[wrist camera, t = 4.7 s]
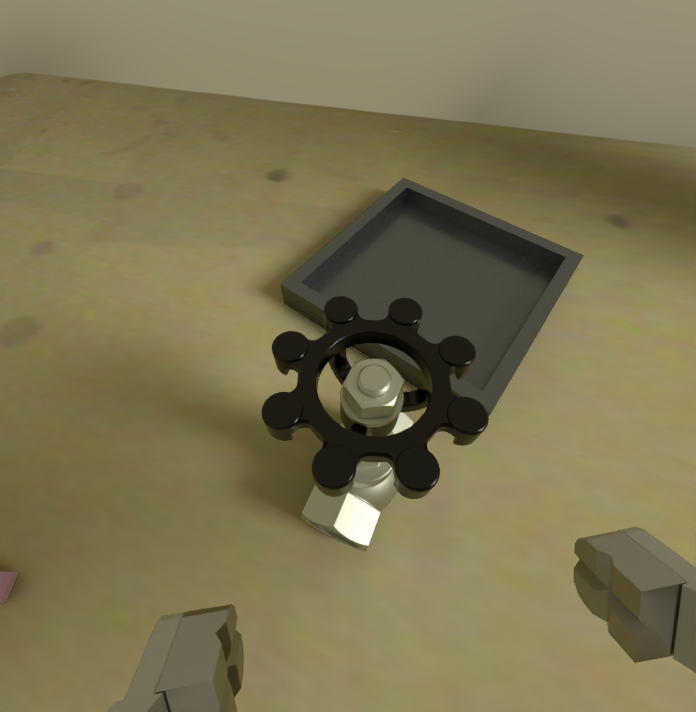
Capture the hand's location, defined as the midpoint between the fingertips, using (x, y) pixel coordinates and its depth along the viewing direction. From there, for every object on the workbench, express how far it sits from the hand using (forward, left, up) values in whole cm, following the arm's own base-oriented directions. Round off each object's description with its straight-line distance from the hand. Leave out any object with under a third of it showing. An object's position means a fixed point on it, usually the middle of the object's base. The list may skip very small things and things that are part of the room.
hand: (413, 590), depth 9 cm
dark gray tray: (-19, -8, -11) cm, 23 cm away
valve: (-4, -4, -11) cm, 12 cm away
